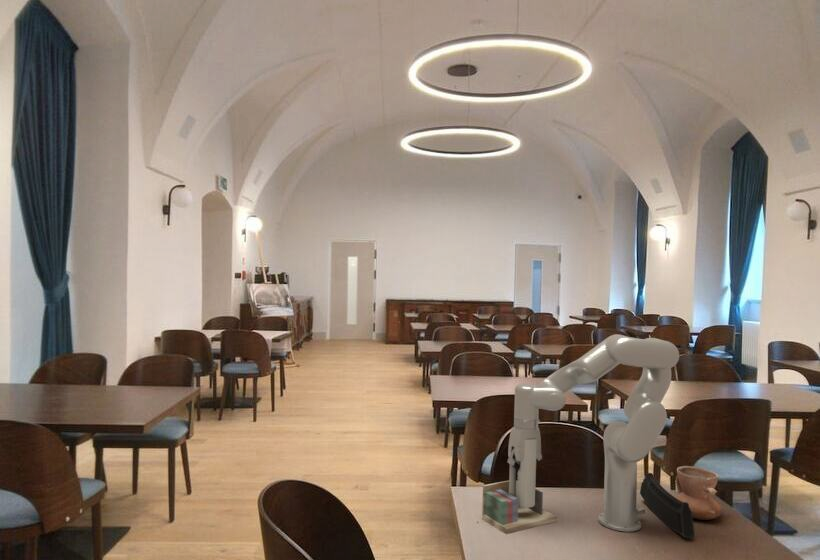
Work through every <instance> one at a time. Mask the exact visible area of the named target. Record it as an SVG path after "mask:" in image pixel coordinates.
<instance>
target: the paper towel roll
mask: <svg viewBox="0 0 820 560" xmlns="http://www.w3.org/2000/svg"><path fill="white" fill-rule="evenodd" d="M536 450H537V438H534V439H528V440H525V448H524V458H523V461H522V462H521V469H520V471H521V472H520V471H518V473H517V474H518V477H517V478H518V481H517V480H516V469H514V467H513V466H512V465H511V464H509V473H508V474H509V479H508V480H509V494H510V495H512V496H514V497H516V498H518V506H521V507H527V508H528V507H533V506H534V505H535V489H536V479H537V476H536V475H537V472H536V471H537V464H536ZM514 462H515V459H514ZM517 464H518V465H519V462H517Z"/></svg>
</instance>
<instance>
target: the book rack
mask: <svg viewBox="0 0 820 560" xmlns="http://www.w3.org/2000/svg"><path fill="white" fill-rule="evenodd" d="M543 495H544V492H543V491H541V490H540V489H536V488H535V505H534V506H533V507H528V508H527V507H521V506H518V498H516V497H514V496H512V495H510V494H509V479H508V480H504V481H499V482H494V483H493V482H492V483H488V484H483V485H482V512H481V513H482V516H481V518H482V520H484V521H485V522H487V523H488V524H490V525H492V526H493V527H495V528H496V529H498V530H499V531H501V532H503V533H504V534H505V535H507V534H511V533H517V532H520V531H523V530H527V529H530V528H531V529H532V528H536V527H538V526H544V525H546V524H552V523H555V522H557V516H556V515H555V514H552V513H551V512H549V511H547V510H545V509H543V504H544V503H543V501H544V500H543V497H544V496H543Z"/></svg>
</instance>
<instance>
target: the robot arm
mask: <svg viewBox="0 0 820 560" xmlns="http://www.w3.org/2000/svg"><path fill="white" fill-rule="evenodd" d="M679 360H680V352H679V349H678V347H677V346H676V345H675V344H674V343H672V342H671V341H668V340H663V339H660V338H656V337H647V338H644V339H643V338H637V337H630V336H627V335H623V334H617V333H615V334H611V335H610V336H608V337H607V338H605V339H604V340H602V341H601V342H600V343H598V344H597V345H595V346H594V347H593V348H592V349H590V350H589V351H587V352H586V353H584V354H583V355H582V356H580V357H579V358H577V359H576V360H574V361H572V362H570V363H569V364H567V365H564V366H563V367H561V368H559V369H557V370H555V371H554V372H553V373H551V374H550V375H549V376H547V377H545V378H544V379H543V380H542V381H541V382H539V383H538V385H535V384H532V383H519V384H516V386H515V388H514V406H513V407H514V408H513V409H514V410H513V411H514V412H513V413H514V414H513V427H511V430H510V433H509V439H508V448H507V449H508V450H507V452H508V453H507V454H508V455H507V456H508V458H507V461H506V462H507V463H508V464H509V465H510V464H511V465H512V466H513V467H514V469H516V480H517V481H518V478H517V477H518V474H517V473H518V471H520V469H521V462H522V461H523V458H524V448H525V440H528V439H534V438H537V450H536V465H537V464H538V463H539V462H540V460H541V461H542V459H543V455H542V442H541V441H542V440H541V431H540V428H539V423H540V422H541V420H540V418H539V412H540V411H539V409H540V410H546V411H553V412H554V411H559V410H561V409H563V408H564V407H565V405H566V402H567V401H566V399H567V397H566V395H565V393H567V392H568V391H569V390H571V389H573V388H575V387H577V386H580V385H584V384H585V385H586V384H591V383H594V382H597V381H598V380H599V379H601V378H602V377H603V376H605V375H606V374H607V373H609V372H610V371H612V370H614V368H616V367H617V366H618V365H621V364H622V365H625V366H631V367H637V368H642V372H641V375H640V378H639V380H638V382H637V384H636V385H635V386H634V388H633V390H632V391H631V393H630V395H629V396H628V398H627V399H626V401H625V403H624V406H623V412H624V415H625V417H627V418H628V420H629V421H628V422H627V423H626V422H625V421H619V420H618V421H617V420H616V421H613V422H611V423H609V424H608V425H607V426H606V428H604V432H603V436H602V437H603V439H602V440H603V451H604V479H603V480H604V483H603V484H604V485H603V486H604V488H603V512H601V513H600V514H599V515H598V518H597V519H598V522H599V523H600V524H601V525H602V526H604V527H606V528H608V529H610V530H613V531H616V532H617V531H618V532H625V533H626V532H629V533H630V532H631V533H632V532H636V531H639V530H640V529H641V528H642V522H641V520H640V519H639V516H640V515H643V514H645V513H646V509H645V508H644V507H642V506H641V507H638V508H637V490H638V489H637V487H638V485H637V482H638V462H640V461H642V460H643V459H645V457H647V455H649V453H650V451H651V449H652V448H653V446H654V445H655V443H656V442H657V440H658V438H659V437H660V435H661V433H662V432H663V430H664V428H665V426H666V423H667V417H668V413H667V411H666V407H664V405H663V404H662V401H663V400H664V398H665V396H666V394H667V393H668V390H669V388H670V386H671V381H672V368H673V367H675V366H676V365H677V363H678V362H679ZM514 459H515V462H514ZM517 462H519V465H518V464H517ZM520 472H521V471H520Z"/></svg>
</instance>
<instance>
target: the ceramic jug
mask: <svg viewBox="0 0 820 560" xmlns="http://www.w3.org/2000/svg"><path fill="white" fill-rule="evenodd" d="M676 474H677V475H676V479H675V485H676V489H677V493H678V494H677V493H676V495H673V496H674V497H675V498H677V499H678V500H680V501H682V502H687V503H688V504H689V508H690V510H691V511H692V518H693V520H701V521H709V520H714V519H717V518H718V517H720V516H721V514H722V506H721V505H720V504H719V502H717V501H716V500H715V499H714V498H713V497H712V495H714V494H715V493H716V494H717V493H718V491H717V490H716V489H715V488H716V486H717V484H718V480H719V475H718V474H717V473H716V472H714V471H711V470H708V469H704V468H702V467H701V468H700V467H696V466H689V465H683V466H678V467H677V468H676Z"/></svg>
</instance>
